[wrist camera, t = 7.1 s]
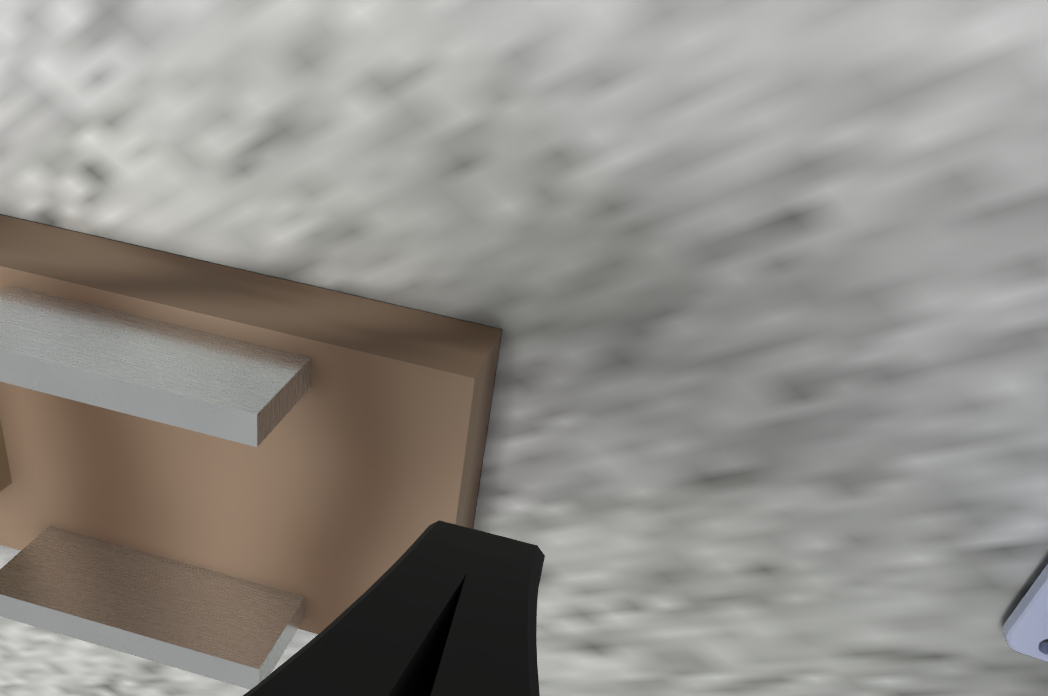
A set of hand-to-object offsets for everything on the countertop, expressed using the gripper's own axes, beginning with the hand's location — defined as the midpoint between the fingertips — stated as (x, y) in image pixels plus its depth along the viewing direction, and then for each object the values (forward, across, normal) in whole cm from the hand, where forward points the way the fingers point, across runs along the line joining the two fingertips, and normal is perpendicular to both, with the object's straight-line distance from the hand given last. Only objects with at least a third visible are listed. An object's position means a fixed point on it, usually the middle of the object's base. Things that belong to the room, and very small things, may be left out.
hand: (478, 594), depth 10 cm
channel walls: (+8, +9, +6) cm, 14 cm away
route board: (+10, +14, +6) cm, 19 cm away
